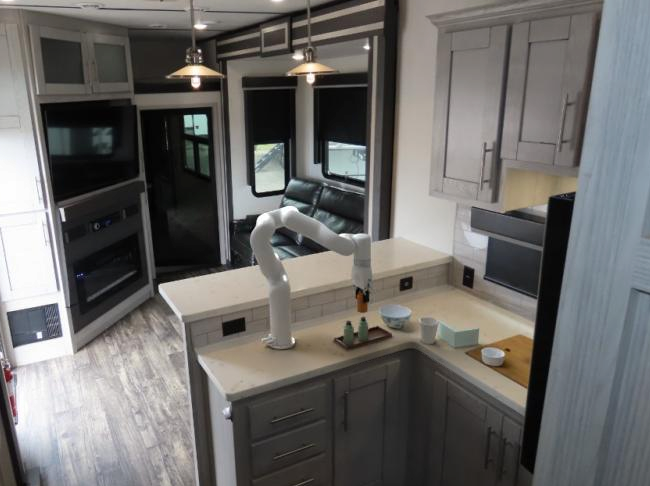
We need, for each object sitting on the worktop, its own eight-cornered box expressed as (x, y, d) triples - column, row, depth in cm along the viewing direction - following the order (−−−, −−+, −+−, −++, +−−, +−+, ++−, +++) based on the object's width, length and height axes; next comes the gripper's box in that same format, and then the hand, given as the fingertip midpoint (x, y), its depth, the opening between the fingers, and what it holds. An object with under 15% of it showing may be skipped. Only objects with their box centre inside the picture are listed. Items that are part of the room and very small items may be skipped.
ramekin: (477, 362, 209) (477, 352, 208) (485, 354, 215) (486, 345, 214) (499, 369, 203) (500, 359, 202) (507, 361, 209) (508, 351, 208)
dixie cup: (435, 346, 224) (436, 326, 221) (416, 342, 228) (416, 322, 225) (439, 339, 230) (440, 318, 228) (421, 335, 235) (422, 315, 232)
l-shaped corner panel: (478, 344, 224) (479, 328, 222) (453, 347, 222) (454, 332, 220) (461, 332, 236) (462, 317, 234) (438, 336, 233) (439, 321, 231)
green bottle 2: (361, 341, 230) (362, 320, 228) (355, 337, 234) (355, 316, 232) (370, 339, 232) (370, 318, 230) (363, 335, 236) (364, 314, 234)
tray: (346, 350, 224) (346, 346, 223) (333, 341, 233) (333, 337, 232) (391, 337, 234) (392, 333, 234) (377, 329, 243) (377, 325, 243)
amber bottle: (361, 313, 226) (361, 291, 224) (355, 310, 230) (354, 288, 228) (369, 311, 228) (369, 289, 225) (363, 307, 232) (363, 286, 229)
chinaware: (379, 331, 240) (380, 316, 238) (378, 318, 254) (378, 304, 252) (412, 333, 237) (413, 317, 235) (409, 319, 252) (409, 305, 250)
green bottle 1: (347, 346, 227) (347, 324, 224) (341, 341, 231) (341, 320, 228) (355, 343, 229) (355, 322, 226) (349, 339, 233) (349, 318, 230)
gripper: (343, 258, 229) (344, 296, 234) (367, 268, 214) (367, 308, 219) (357, 255, 232) (357, 292, 237) (381, 265, 217) (381, 304, 222)
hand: (362, 299), depth 228 cm, fingers closed on amber bottle, 4 cm apart
